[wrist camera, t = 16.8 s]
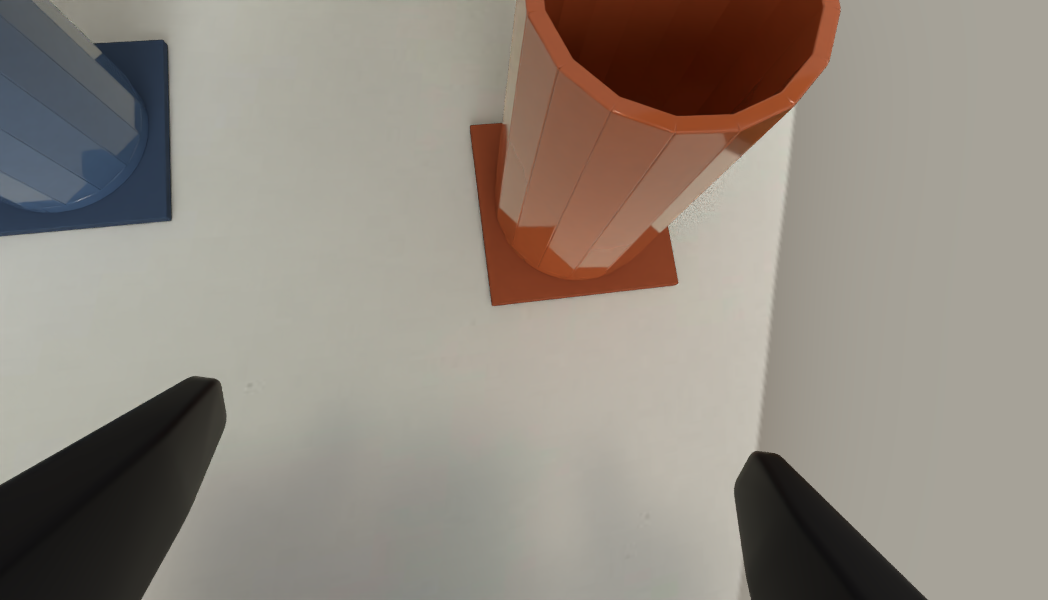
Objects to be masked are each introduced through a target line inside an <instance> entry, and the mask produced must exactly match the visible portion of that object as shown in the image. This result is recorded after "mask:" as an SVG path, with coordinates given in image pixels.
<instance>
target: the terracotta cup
mask: <svg viewBox="0 0 1048 600" xmlns="http://www.w3.org/2000/svg"><path fill="white" fill-rule="evenodd" d="M840 12H841V11H840V3H839V0H516V7H515V16H514V24H513V33H512V42H511V51H510V59H509V68H508V77H507V86H506V94H505V103H504V112H503V121H502V129H501V138H500V147H499V156H498V165H497V173H496V182H495V208H496V214H497V219H498V222H499V226H500V228H501V231H502V233H503V235H504V237H505V239H506V240H507V242H508V244H509V245H510V246H511V248H512V249H513V250H514V251H515V253H516V254H517V255H518V256H519V257H520V258H522V259H523V260H524V261H525V262H526V263H528V264H529V265H530V266H532V267H533V268H535V269H537V270H539V271H541V272H543V273H545V274H548V275H550V276H553V277H557V278H561V279H567V280H588V279H594V278H598V277H602V276H604V275H607V274H609V273H612V272H614V271H615V270H617V269H619V268H620V267H622V266H623V265H624V264H626V263H629V262H630V261H631V260H632V259H633V258H634V257H635V256H636V255H637V254H638V253H639V252H641V251H642V250H643V249H644V248H645V247H646V246H647V245H648V244H649V243H650V242H651V241H652V240H653V239H654V238H655V237H656V236H657V235H658V234H660V233H661V232H662V231H663V230H664V229H665V228H666V227H667V226H668V225H669V224H670V223H671V222H672V221H673V220H674V219H675V218H676V217H678V216H679V215H680V214H681V213H682V212H683V211H684V210H685V209H686V208H687V207H688V206H689V205H690V204H691V203H692V202H693V201H694V200H695V199H697V198H698V197H699V196H700V195H701V194H702V193H703V192H704V191H705V190H706V189H707V188H708V187H709V186H710V185H711V184H712V183H713V182H715V181H716V180H717V179H718V178H719V177H720V176H721V175H722V174H723V173H724V172H725V171H726V170H727V169H728V168H729V167H730V166H731V165H732V164H734V163H735V162H736V161H737V160H738V159H739V158H740V157H741V156H742V155H743V154H744V153H745V152H746V151H747V150H748V149H749V148H750V147H752V146H753V145H754V144H755V143H756V142H757V141H758V140H759V139H760V138H761V137H762V136H763V135H764V134H765V133H766V132H767V131H768V130H770V129H771V128H772V127H773V126H774V125H775V124H776V123H777V122H778V121H779V120H780V119H781V118H782V117H783V116H784V115H785V114H786V113H787V112H789V111H790V110H791V109H792V108H793V107H794V106H795V105H796V104H797V102H798V101H799V100H800V99H801V97H802V96H803V95H804V93H805V92H806V91H807V90H808V89H809V88H810V86H811V85H812V84H813V83H814V81H815V80H816V79H817V78H818V76H819V75H820V74H821V73H822V71H823V70H824V69H825V68H826V66H827V65H828V63H829V61H830V56H831V52H832V47H833V43H834V38H835V33H836V29H837V25H838V20H839V16H840Z"/></svg>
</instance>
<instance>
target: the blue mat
mask: <svg viewBox="0 0 1048 600" xmlns="http://www.w3.org/2000/svg"><path fill="white" fill-rule="evenodd" d="M94 45H95V46H96V47H97V48H98V49H99V50H100V51H101V52H102V53H103V54H104V55H105V56H106V57H107V58H108V59H109V60H110V61H111V62H112V63H113V64H114V65H115V66H116V67H117V68H118V69H119V70H120V71H121V72H122V73H123V74H124V75H125V76H126V77H127V78H128V80H129V81H130V82H131V83H132V85H133V86H134V87H135V88H136V89H137V91H138V93H139V94H140V96H141V98H142V100H143V102H144V105H145V107H146V111H147V115H148V123H149V132H148V140H147V145H146V148H145V151H144V154H143V157H142V158H141V160H140V162H139V164H138V166H137V167H136V169H135V170H134V172H133V173H132V175H131V176H130V177H129V178H128V179H127V180H126V181H125V182H124V183H123V184H122V185H121V186H120V187H119V188H118V189H116V190H115V191H114V192H112V193H111V194H109V195H108V196H106V197H105V198H103V199H101V200H99V201H97V202H95V203H93V204H91V205H88V206H85V207H83V208H79V209H75V210H71V211H65V212H57V213H42V212H32V211H28V210H23V209H20V208H17V207H14V206H11V205H9V204H7V203H4V202H2V201H0V236H7V235H18V234H29V233H40V232H51V231H62V230H73V229H84V228H95V227H106V226H117V225H128V224H139V223H150V222H161V221H171V185H170V141H169V96H168V51H167V44H166V43H165V42H164V40H149V41H131V42H113V43H95V44H94Z"/></svg>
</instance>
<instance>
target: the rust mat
mask: <svg viewBox="0 0 1048 600" xmlns="http://www.w3.org/2000/svg"><path fill="white" fill-rule="evenodd" d="M501 129H502V123H495V124H481V125H471V126H470V134H471V142H472V150H473V158H474V166H475V174H476V182H477V190H478V198H479V206H480V214H481V222H482V230H483V238H484V246H485V254H486V262H487V270H488V278H489V286H490V294H491V302H492V306H497V305H506V304H515V303H523V302H532V301H541V300H550V299H559V298H567V297H576V296H585V295H594V294H602V293H611V292H620V291H629V290H638V289H646V288H655V287H664V286H673V285H676V284H678V278H677V273H676V268H675V262H674V257H673V251H672V246H671V241H670V235H669V230H668V226H667V227H666V228H665V229H664V230H663V231H662V232H661V233H660V234H658V235H657V236H656V237H655V238H654V239H653V240H652V241H651V242H650V243H649V244H648V245H647V246H646V247H645V248H644V249H643V250H642V251H641V252H639V253H638V254H637V255H636V256H635V257H634V258H633V259H632V260H631V261H630V262H629V263H626V264H624V265H623V266H622V267H620V268H619V269H617V270H615V271H614V272H612V273H609V274H607V275H604V276H602V277H598V278H594V279H588V280H567V279H561V278H557V277H553V276H550V275H548V274H545V273H543V272H541V271H539V270H537V269H535V268H533V267H532V266H530V265H529V264H528V263H526V262H525V261H524V260H523V259H522V258H520V257H519V256H518V255H517V254H516V253H515V251H514V250H513V249H512V248H511V246H510V245H509V244H508V242H507V240H506V239H505V237H504V235H503V233H502V231H501V228H500V226H499V222H498V219H497V214H496V208H495V182H496V173H497V165H498V156H499V147H500V138H501Z"/></svg>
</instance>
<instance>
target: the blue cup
mask: <svg viewBox="0 0 1048 600" xmlns="http://www.w3.org/2000/svg"><path fill="white" fill-rule="evenodd" d="M148 132H149V123H148V115H147V111H146V107H145V105H144V102H143V100H142V98H141V96H140V94H139V93H138V91H137V89H136V88H135V87H134V86H133V85H132V83H131V82H130V81H129V80H128V78H127V77H126V76H125V75H124V74H123V73H122V72H121V71H120V70H119V69H118V68H117V67H116V66H115V65H114V64H113V63H112V62H111V61H110V60H109V59H108V58H107V57H106V56H105V55H104V54H103V53H102V52H101V51H100V50H99V49H98V48H97V47H96V46H95V45H94V44H93V43H92V42H91V41H90V40H89V39H88V38H87V37H86V36H85V35H84V34H83V33H82V32H81V31H80V30H79V29H78V28H77V27H76V26H75V25H74V24H73V23H72V22H71V21H70V20H69V19H68V18H67V17H66V16H65V15H64V14H62V13H61V12H60V11H59V10H58V9H57V8H56V7H55V6H54V5H53V4H52V3H51V2H50V1H49V0H0V201H2V202H4V203H7V204H9V205H11V206H14V207H17V208H20V209H23V210H28V211H32V212H42V213H57V212H65V211H71V210H75V209H79V208H83V207H85V206H88V205H91V204H93V203H95V202H97V201H99V200H101V199H103V198H105V197H106V196H108V195H109V194H111V193H112V192H114V191H115V190H116V189H118V188H119V187H120V186H121V185H122V184H123V183H124V182H125V181H126V180H127V179H128V178H129V177H130V176H131V175H132V173H133V172H134V170H135V169H136V167H137V166H138V164H139V162H140V160H141V158H142V157H143V154H144V151H145V148H146V145H147V140H148Z"/></svg>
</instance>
